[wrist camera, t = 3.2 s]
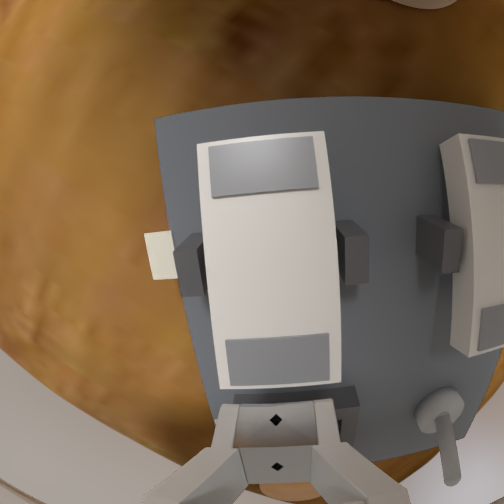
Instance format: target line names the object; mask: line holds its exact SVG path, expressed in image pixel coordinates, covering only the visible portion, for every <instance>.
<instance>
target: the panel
mask: <svg viewBox="0 0 504 504" xmlns="http://www.w3.org/2000/svg"><path fill="white" fill-rule="evenodd" d="M154 120H155V130H156V139H157V148H158V156H159V164H160V171H161V179H162V186H163V193H164V199H165V206H166V212H167V218H168V224H169V230H170V231H161V232H153V233H145V234H144V236H145V241H146V247H147V252H148V256H149V261H150V266H151V271H152V275H153V280H159V279H175V278H178V282H179V287H180V292H181V296H182V298H183V303H184V308H185V312H186V317H187V321H188V325H189V330H190V334H191V338H192V342H193V347H194V351H195V355H196V359H197V363H198V366H199V370H200V374H201V378H202V382H203V385H204V389H205V393H206V396H207V400H208V404H209V407H210V411H211V414H212V417H213V421H214V424H215V427H216V423H217V419H218V414H219V410H220V407H221V405H222V404H277V403H289V402H301V401H312V400H321V399H329V398H331V399H332V400H333V403H334V408H335V413H336V419H337V424H338V430H339V435H340V441H341V442H347V443H348V444H350V445H351V446H352V447H353V448H354V449H356V450H357V451H358V452H359V453H361V454H362V455H363V456H364V457H365V458H367V459H368V460H369V461H370V462H377V461H382V460H387V459H392V458H396V457H401V456H405V455H409V454H413V453H417V452H420V451H424V450H427V449H431V448H434V447H438V446H439V449H440V454H441V461H442V468H443V476H444V482H445V484H446V485H447V486H454V485H456V484H457V483H458V482H459V481H460V479H461V472H460V465H459V458H458V452H457V447H456V440H459V439H462V438H464V437H465V435H466V433H467V431H468V429H469V427H470V425H471V423H472V421H473V419H474V417H475V415H476V413H477V411H478V409H479V407H480V404H481V402H482V400H483V398H484V395H485V393H486V391H487V388H488V386H489V383H490V381H491V378H492V376H493V373H494V370H495V368H496V365H497V362H498V359H499V357H500V354H501V351H502V348H503V347H502V348H499V349H496V350H493V351H489V352H486V353H483V354H479V355H476V356H472V357H469V358H468V357H467V356H465V355H464V354H463V353H461V352H460V351H458V350H457V349H455V348H454V347H452V346H451V345H450V335H451V320H452V291H453V273H457V272H459V267H460V257H461V247H462V234H463V228H461V227H459V226H457V225H455V224H452V223H450V215H449V205H448V197H447V189H446V181H445V175H444V168H443V162H442V157H441V151H440V146H439V145H440V144H441V143H443V142H445V141H446V140H448V139H450V138H451V137H453V136H454V135H456V134H458V133H461V134H472V135H481V136H490V137H498V138H504V111H501V110H496V109H491V108H485V107H479V106H473V105H466V104H459V103H452V102H443V101H434V100H424V99H411V98H394V97H361V96H345V97H310V98H293V99H280V100H269V101H259V102H250V103H241V104H234V105H226V106H220V107H213V108H207V109H201V110H195V111H190V112H184V113H179V114H174V115H169V116H165V117H160V118H155V119H154ZM314 131H324V134H325V141H326V148H327V155H328V162H329V170H330V178H331V187H332V196H333V206H334V216H335V227H336V239H337V252H338V267H339V285H340V309H341V382H339V383H330V384H320V385H309V386H297V387H282V388H261V389H220V386H219V378H218V371H217V364H216V356H215V348H214V340H213V332H212V323H211V314H210V305H209V296H208V286H207V277H206V266H205V255H204V244H203V232H202V220H201V207H200V193H199V177H198V160H197V144H200V143H207V142H214V141H221V140H228V139H236V138H245V137H253V136H263V135H273V134H285V133H298V132H314Z"/></svg>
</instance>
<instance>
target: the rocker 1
mask: <svg viewBox="0 0 504 504" xmlns="http://www.w3.org/2000/svg"><path fill="white" fill-rule="evenodd" d="M197 160H198V177H199V193H200V207H201V220H202V232H203V244H204V255H205V266H206V277H207V286H208V296H209V305H210V314H211V323H212V332H213V340H214V348H215V356H216V364H217V371H218V378H219V386H220V389H261V388H282V387H297V386H309V385H320V384H330V383H339V382H341V309H340V285H339V267H338V252H337V239H336V227H335V216H334V206H333V196H332V187H331V178H330V170H329V162H328V155H327V148H326V141H325V134H324V131H314V132H298V133H285V134H273V135H263V136H253V137H245V138H236V139H228V140H221V141H214V142H207V143H200V144H197Z"/></svg>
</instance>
